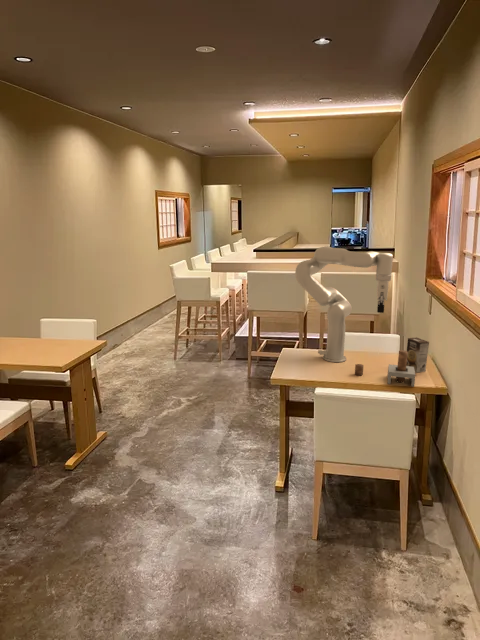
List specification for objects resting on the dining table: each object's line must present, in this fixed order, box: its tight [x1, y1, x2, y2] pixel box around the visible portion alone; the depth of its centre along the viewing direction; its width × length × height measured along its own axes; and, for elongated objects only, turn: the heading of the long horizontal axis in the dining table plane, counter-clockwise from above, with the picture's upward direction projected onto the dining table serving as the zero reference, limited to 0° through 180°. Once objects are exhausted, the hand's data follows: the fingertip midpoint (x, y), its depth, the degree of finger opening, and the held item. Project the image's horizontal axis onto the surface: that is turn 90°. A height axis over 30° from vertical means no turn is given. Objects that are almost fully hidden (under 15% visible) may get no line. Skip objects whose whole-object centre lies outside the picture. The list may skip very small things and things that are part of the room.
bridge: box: [387, 363, 416, 387], centre depth 244 cm, size 12×12×6 cm
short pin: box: [354, 363, 364, 377], centre depth 252 cm, size 4×4×5 cm
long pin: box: [395, 349, 408, 383], centre depth 243 cm, size 4×4×15 cm
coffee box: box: [406, 336, 430, 374], centre depth 261 cm, size 9×6×16 cm
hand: (380, 310), depth 259 cm, fingers open, 9 cm apart
